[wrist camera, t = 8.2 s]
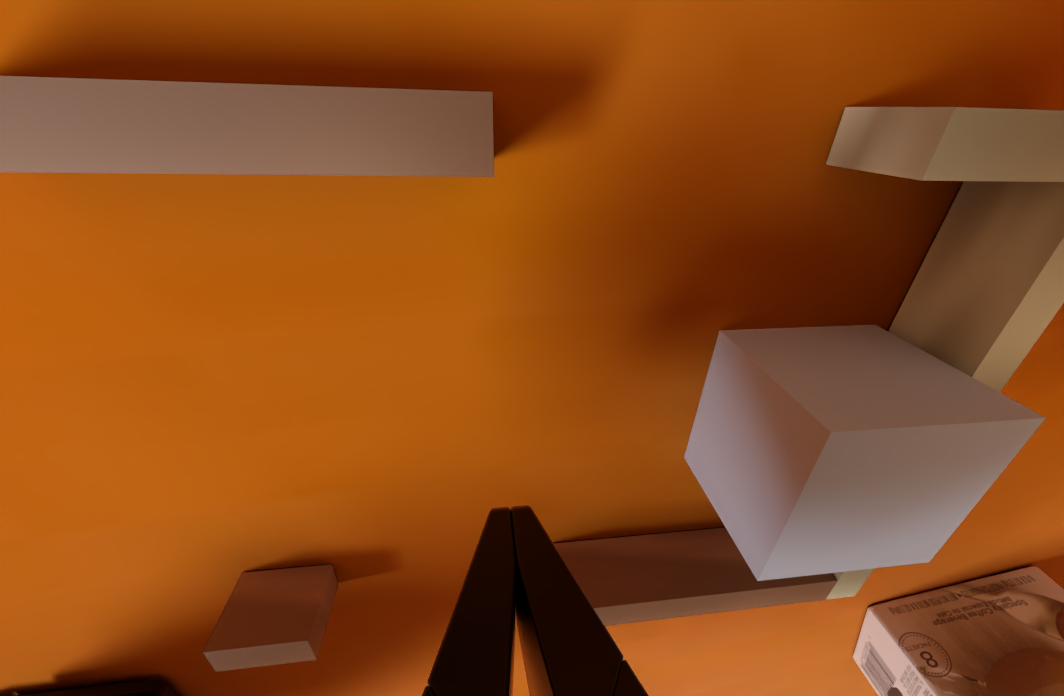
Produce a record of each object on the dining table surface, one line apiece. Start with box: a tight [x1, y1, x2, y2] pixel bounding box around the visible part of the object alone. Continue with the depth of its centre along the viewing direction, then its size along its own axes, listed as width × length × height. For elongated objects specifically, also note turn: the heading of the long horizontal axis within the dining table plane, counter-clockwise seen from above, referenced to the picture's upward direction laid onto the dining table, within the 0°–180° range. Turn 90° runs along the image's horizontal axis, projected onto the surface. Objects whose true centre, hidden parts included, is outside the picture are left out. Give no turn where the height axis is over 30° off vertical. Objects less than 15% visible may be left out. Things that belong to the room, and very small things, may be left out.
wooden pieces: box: [0, 76, 1064, 672], centre depth 12 cm, size 16×22×2 cm
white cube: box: [684, 325, 1046, 581], centre depth 12 cm, size 5×5×4 cm
